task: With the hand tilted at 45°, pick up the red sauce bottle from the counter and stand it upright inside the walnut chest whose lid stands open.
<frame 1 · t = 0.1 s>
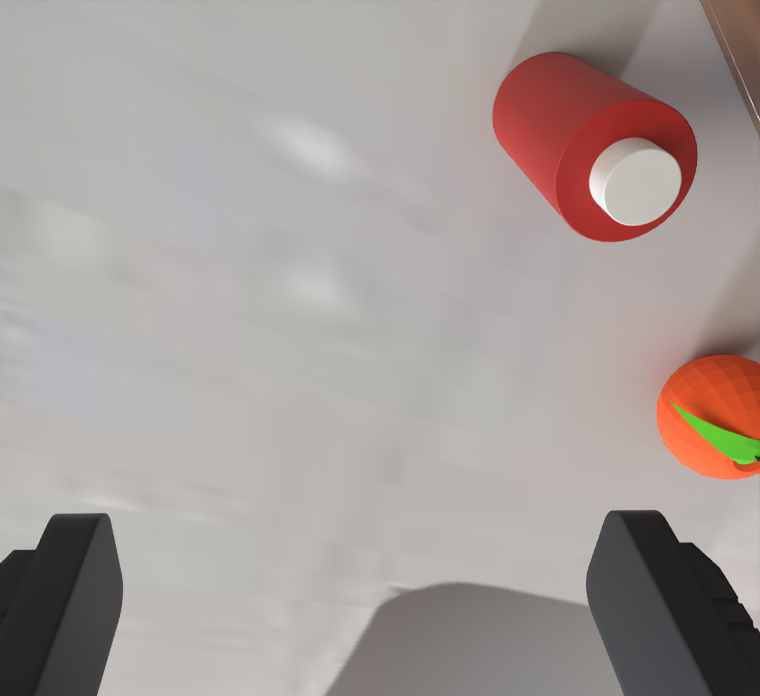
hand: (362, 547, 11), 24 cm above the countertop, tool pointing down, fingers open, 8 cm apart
sauce bottle: (545, 110, 31), on the countertop
clementine: (685, 376, 41), on the countertop
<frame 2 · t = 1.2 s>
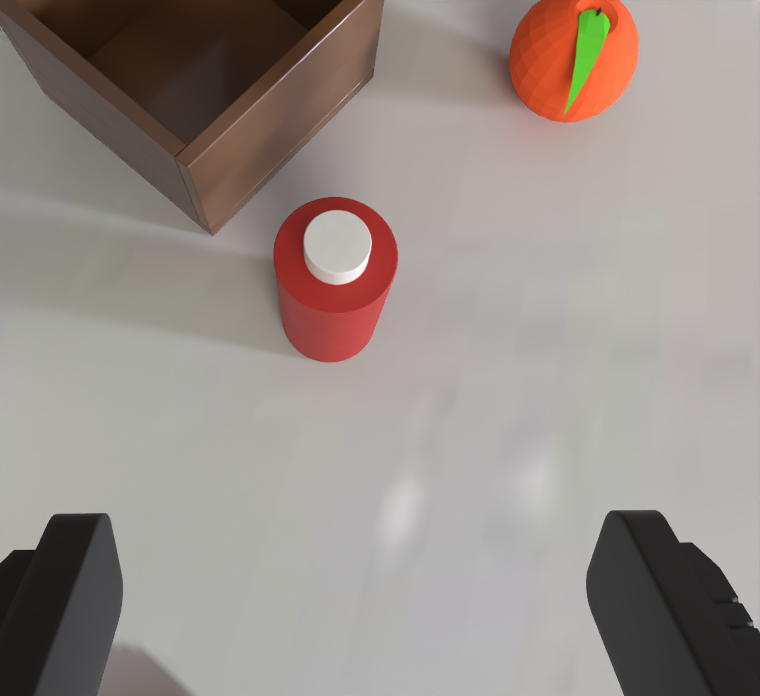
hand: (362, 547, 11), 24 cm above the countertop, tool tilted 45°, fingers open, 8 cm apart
chest: (213, 84, 39), on the countertop
sauce bottle: (329, 317, 36), on the countertop
clementine: (547, 102, 41), on the countertop
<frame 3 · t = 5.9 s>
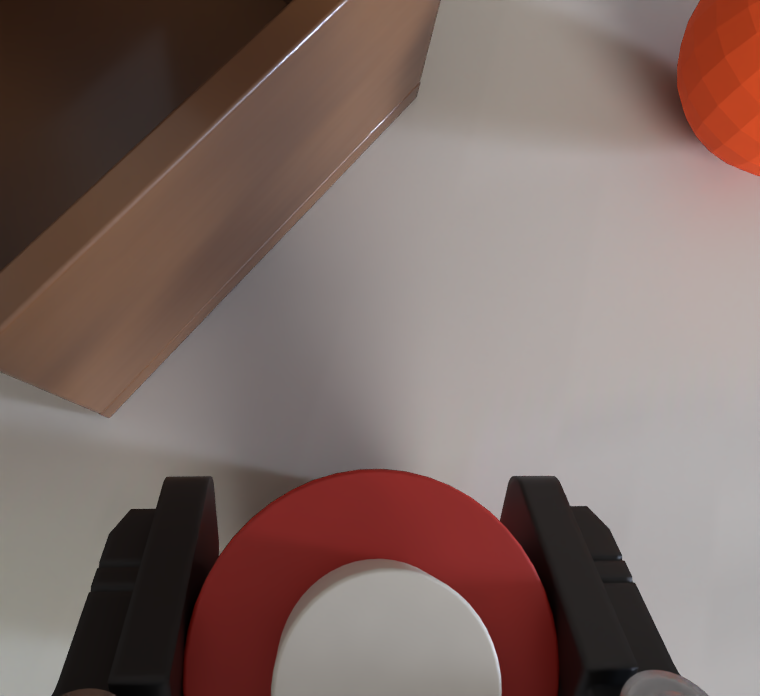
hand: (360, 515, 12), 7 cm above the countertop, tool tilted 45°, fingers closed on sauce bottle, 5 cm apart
chest: (118, 115, 21), on the countertop
sauce bottle: (342, 580, 18), on the countertop, touching gripper
clementine: (729, 138, 23), on the countertop
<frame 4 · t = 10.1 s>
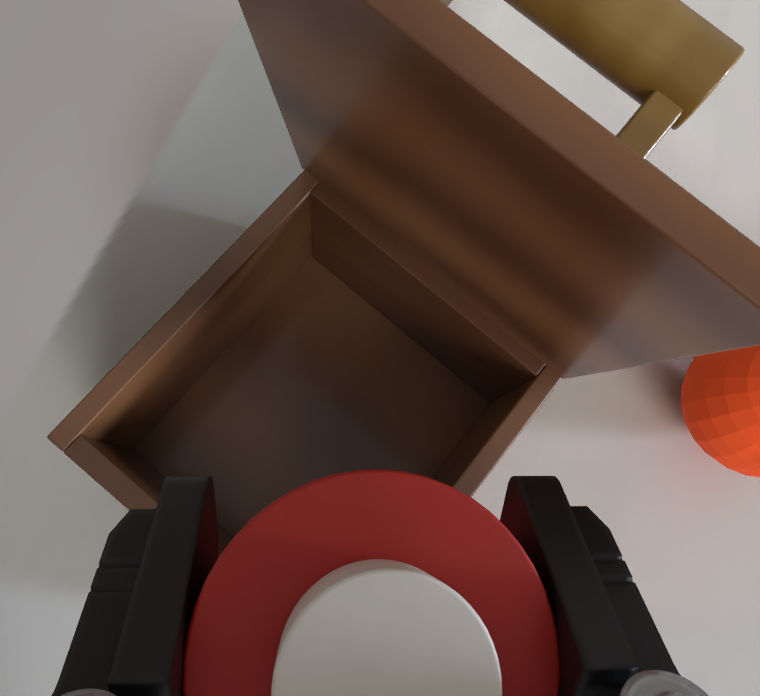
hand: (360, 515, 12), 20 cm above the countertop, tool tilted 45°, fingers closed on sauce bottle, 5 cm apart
chest: (317, 427, 32), on the countertop
sauce bottle: (342, 581, 18), point 13 cm above the countertop, touching gripper
lid: (501, 149, 18), point 16 cm above the countertop, hinge at 80.0°
clementine: (716, 421, 34), on the countertop
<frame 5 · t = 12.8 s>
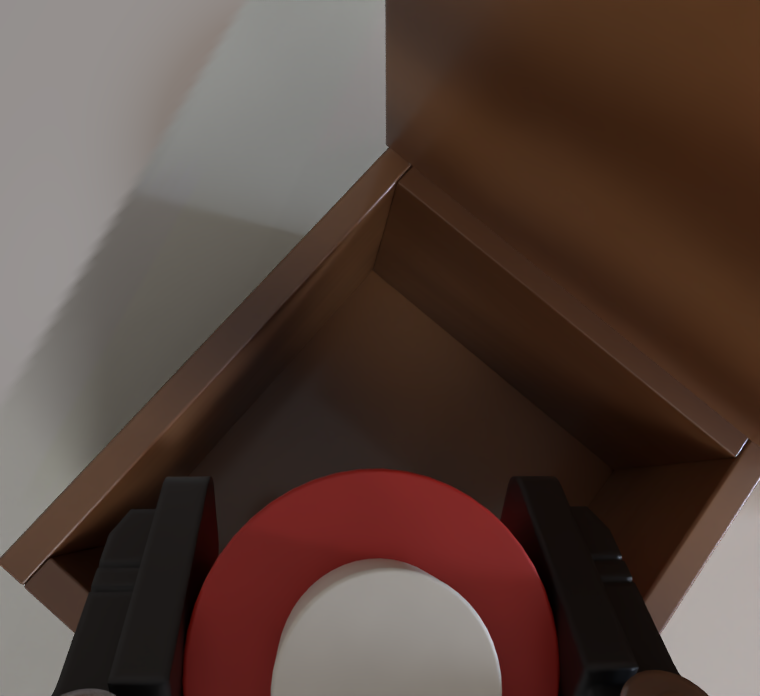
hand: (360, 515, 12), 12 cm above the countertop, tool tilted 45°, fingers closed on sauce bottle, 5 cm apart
chest: (381, 502, 23), on the countertop
sauce bottle: (342, 580, 18), point 5 cm above the countertop, touching gripper
when the fingers open (8 cm above the countertop, at t = 14.5 s): sauce bottle stays where it is, resting on chest.
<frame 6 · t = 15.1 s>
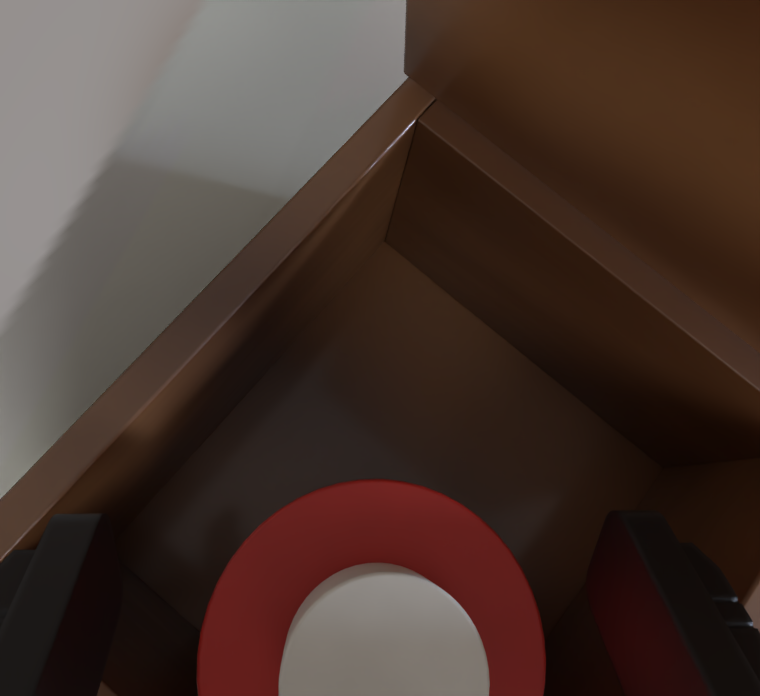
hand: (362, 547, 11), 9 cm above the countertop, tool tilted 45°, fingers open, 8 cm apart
chest: (395, 506, 20), on the countertop
sauce bottle: (345, 581, 19), point 1 cm above the countertop, touching chest
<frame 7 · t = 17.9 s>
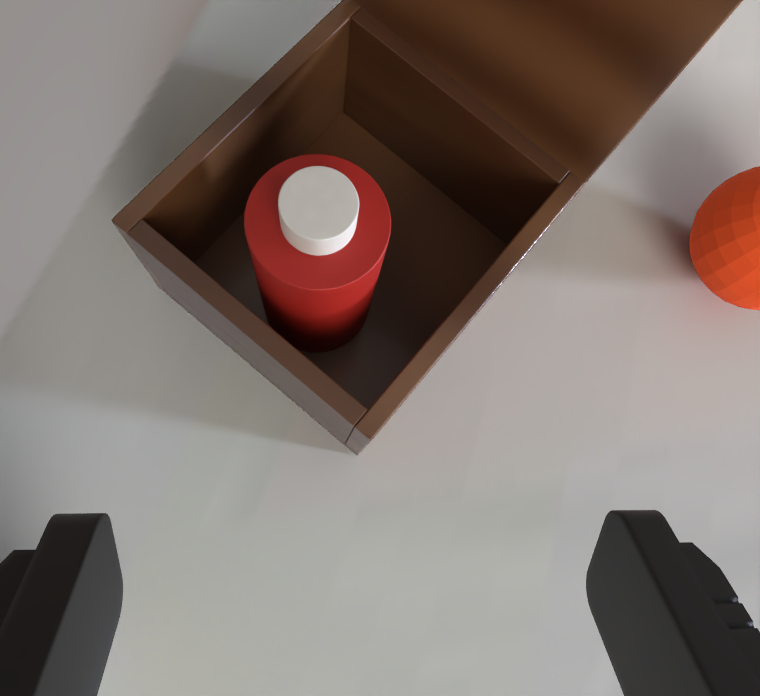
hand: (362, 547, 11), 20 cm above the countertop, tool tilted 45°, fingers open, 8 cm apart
chest: (348, 268, 34), on the countertop
sauce bottle: (316, 301, 32), point 1 cm above the countertop, touching chest
clementine: (722, 274, 36), on the countertop
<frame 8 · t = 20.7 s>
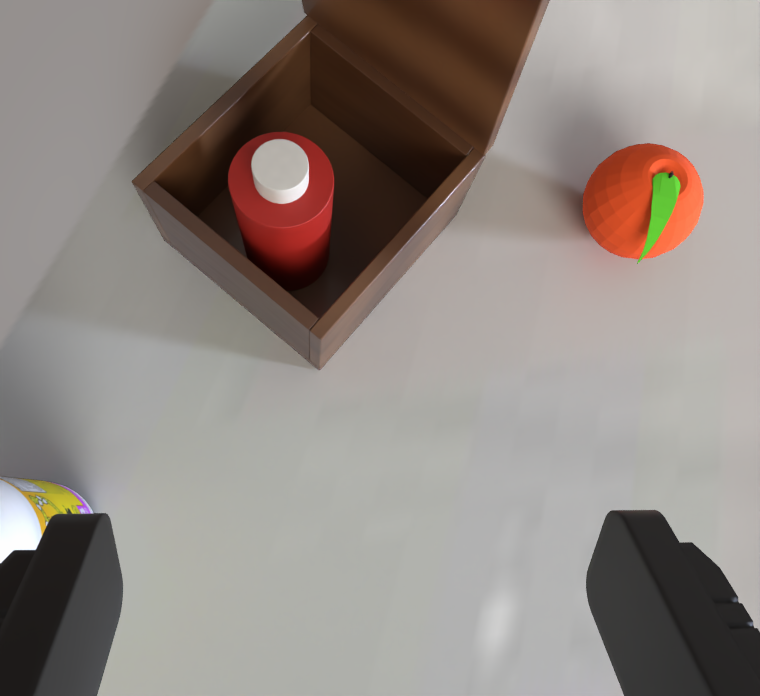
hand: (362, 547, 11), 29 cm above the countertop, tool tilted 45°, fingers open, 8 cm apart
chest: (314, 226, 43), on the countertop
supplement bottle: (42, 542, 37), on the countertop
sauce bottle: (288, 251, 41), point 1 cm above the countertop, touching chest
clementine: (613, 233, 45), on the countertop
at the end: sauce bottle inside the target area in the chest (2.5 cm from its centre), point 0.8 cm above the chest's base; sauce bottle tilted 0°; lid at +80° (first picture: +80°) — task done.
